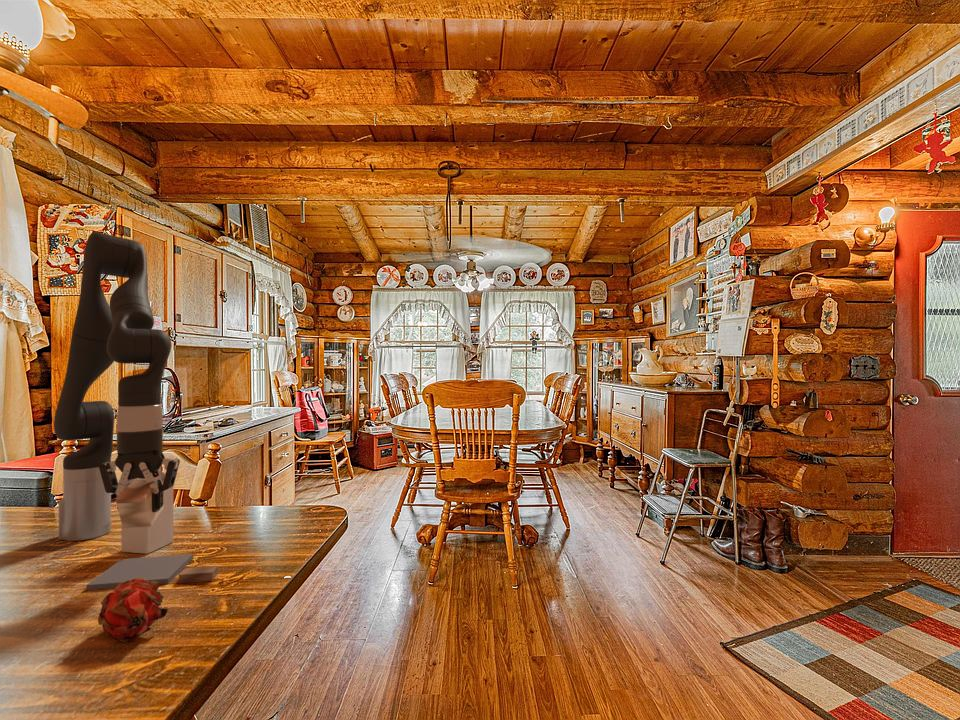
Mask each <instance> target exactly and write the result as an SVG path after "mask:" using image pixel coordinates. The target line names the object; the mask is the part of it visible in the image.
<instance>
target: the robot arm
mask: <svg viewBox="0 0 960 720" xmlns="http://www.w3.org/2000/svg"><path fill="white" fill-rule="evenodd" d="M147 261H148V259H147V253H146V250H145V247H144V245H143V244H141V242H140V241H139V242H138V241H136V240H134V239H133V240H132V239H129V238H125V237H120V236H116V235H111V234H107V233H102V232H96V231H95V232H91V233H90V235H88V238H87V239H86V243H85V247H84V254H83V261H82V262H83V264H82V275H81V285H80V293H79V300H78V305H77V310H76V315H75V318H74V319H75V320H74V324H73V327H72V328H73V329H72V333H71V338H70V345H69V353H68V361H67V367H66V373H65V377H64V382H63V385H62V388H61V392H60V395H59V399H58V403H57V404H56V405H57V406H56V410H55V414H54V418H53V419H54V420H53V429H54V434H55V436H56V437H57V438H58V439H59V440H61V441H77V440H86V439H88V440H89V441H88V443H86V444H85V445H84V446H83V447H81V448H80V449H77V450H76V451H73V452H71V453H70V454H67V455H66V456H64V458H63V461H62V466H63V467H62V480H63V481H62V482H63V483H62V484H63V485H62V492H63V493H62V494H63V495H62V497H63V498H62V499H59V501H58V540H61V541H62V540H64V541H69V542H75V541H84V540H90V539H95V538H98V537H101V536H105V535H106V534H108V533H110V532H111V531H112V494H115V496H116V497H117V496H118V495H119V494H120V493H121V492H122V490H123V489H125V488H126V486H127V485H128V484H129V483H131V482H133V481H134V479H136V478H141V479H146V482H147V484H149V485H150V487H151V489H152V492H153V494H152V512H157V511H159V510H160V508H161V507H162V506H163V492H164V490H167V489H169V488H171V487H172V486H173V487H174V486H175V481H176V478H177V474H178V471H179V467H180V462H181V461H180V459H179V458H177V457H176V458H172V459H171V458H166V457H165V455H164V453H163V449H164V448H163V445H164V441H163V440H164V439H163V436H164V435H163V433H164V431H163V427H164V426H163V419H164V418H163V410H162V382H163V376H164V372H165V368H166V365H167V362H168V359H169V357H170V353H171V350H172V340H171V337H170V336H169V334H168V333H167V332H166V331H164V330H162V329H156V328H155V329H154V328H153V327H154V325H155V319H154V314H153V311H152V307H151V304H150V300H149V299H150V298H149V292H148V291H149V287H148V285H149V284H148V276H149V275H148V262H147ZM102 275H107V276H113V277H118V278H124V279H127V280H125V282H123V283H122V284H121V285H120V286H118V287H117V288H116V289H115V290H114V291H113V292H112V294H111V296H110V298H109V302H108V301H107V299H106V297H105V293H104V291H103V288H102V283H101V282H102V281H101V279H102V278H101V277H102ZM114 362H116V363H118V364H125V365H126V364H127V365H130V364H131V365H132V364H148V367H147V368H146V370H145V371H144V372H141V373H138V374H132V375H126V376H123V377H121V378H120V379H119V381H118V385H117V386H118V387H117V389H118V391H117V392H118V393H117V395H118V396H117V397H118V399H117V400H118V401H117V402H118V403H117V404H118V407H117V413H116V414H117V415H116V424H115V413H114V408H113V406H112V405H111V404H110V402H108V401H105V400H93V401H84V399H85V396H86V394H87V392H88V391H89V389H90V388H91V386H92V385H93V383H94V382H96V381H97V379H98V378H100V377H101V376H102V375H103V374H104V372H106V371H107V370H108V369H109V368H110V367H111V366H112V365H113V363H114ZM115 427H116V452H117V456H116V458H115V459H114V460H113V461H112V456H113V451H114V449H113V447H114V446H113V445H114V443H113V442H114V431H115V430H114V429H115ZM162 465H163V466H164V467H163V468H164V470H165V478H164V482H162V480H161V478H162V477H161V474H160V472H159V470H158V469H159V468H160V467H161V468H162ZM117 468H118V470H119V471H120V472H121V475H120V478H119V479H118V478H117V474H116V470H117ZM116 507H117V512H119V510H118V506H116Z"/></svg>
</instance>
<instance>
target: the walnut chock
mask: <svg viewBox="0 0 960 720" xmlns="http://www.w3.org/2000/svg"><path fill="white" fill-rule="evenodd" d="M218 575H219V566H218V565H213V566H212V565H211V566H198V567H196V566H195V567H184V568H183V569H182V570H181V571H180V572H179V573H178V584H186V583H187V584H188V583H200V582H209V581H210V582H211V581H214V579H215V578H216V577H217V576H218Z"/></svg>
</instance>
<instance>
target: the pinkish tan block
mask: <svg viewBox="0 0 960 720" xmlns="http://www.w3.org/2000/svg"><path fill="white" fill-rule="evenodd" d="M152 494H153V492H152V489H151V487H150V485H149V484H147V482H146V480H134V481H133V482H131V483H129V484H128V485H127V486H126V488H125V489H123V490H122V492H121V493H120V494H119V495H118V496H117V495H116V497H115V502H116V505H117V506H118V509H117V511H118V510H119V511H118V515H119V518H120V522H121V523H122V527H123V528H133V527H148V526H152V524H153V523H154V521H155V520H156V518H157V517H158V516H159V514H160V513H161V511H162V510H163V508H164V504H163V506H162V507H161V508H160V510H159V511H157V512H152ZM117 506H116V507H117ZM121 523H120V524H121Z"/></svg>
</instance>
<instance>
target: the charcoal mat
mask: <svg viewBox="0 0 960 720" xmlns="http://www.w3.org/2000/svg"><path fill="white" fill-rule="evenodd" d="M193 560H194V553H189V554H188V553H185V554H173V555H172V554H171V555H161V556H147V557H133V558H131V557H130V558H121V559H120V560H118V561H117V562H115V563H114V564H113V565H112V566H110V567H108V568H107V569H106V570H104V572H103V573H101V574H99V575H98V576H96V577H95V578H94V579H93V580H91V581H90V582H88V583H87V584H86V585H85V587H86V589H85V590H86V591H94V590H96V591H97V590H107V589H115V588H116V587H117V586H118V585H119V584H120V583H122V582H125V581H128V580H133V579H135V578H138V577H143V578H145V579H146V580H147V581H157V582H158V583H159V584H160V585H167V584H170V582H172V581H173V580H174V578H175V577H176V576H178V575H179V574H180V573H181V572H182V571H183V570H184V569H185V568H186V567H187V565H189V564H190V562H192V561H193Z"/></svg>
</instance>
